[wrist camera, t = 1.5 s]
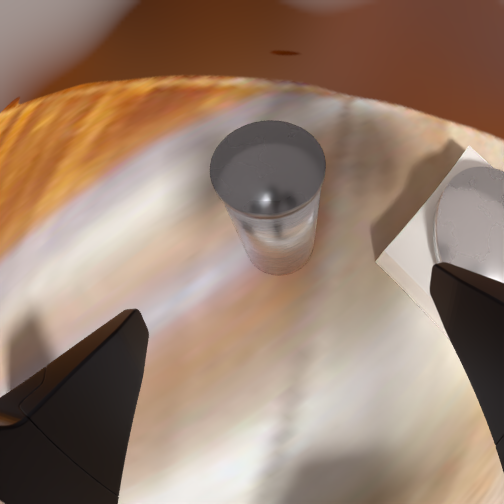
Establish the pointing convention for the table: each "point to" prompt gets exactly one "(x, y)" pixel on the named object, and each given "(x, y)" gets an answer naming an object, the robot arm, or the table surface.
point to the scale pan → (472, 222)
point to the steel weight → (271, 191)
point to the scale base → (422, 245)
